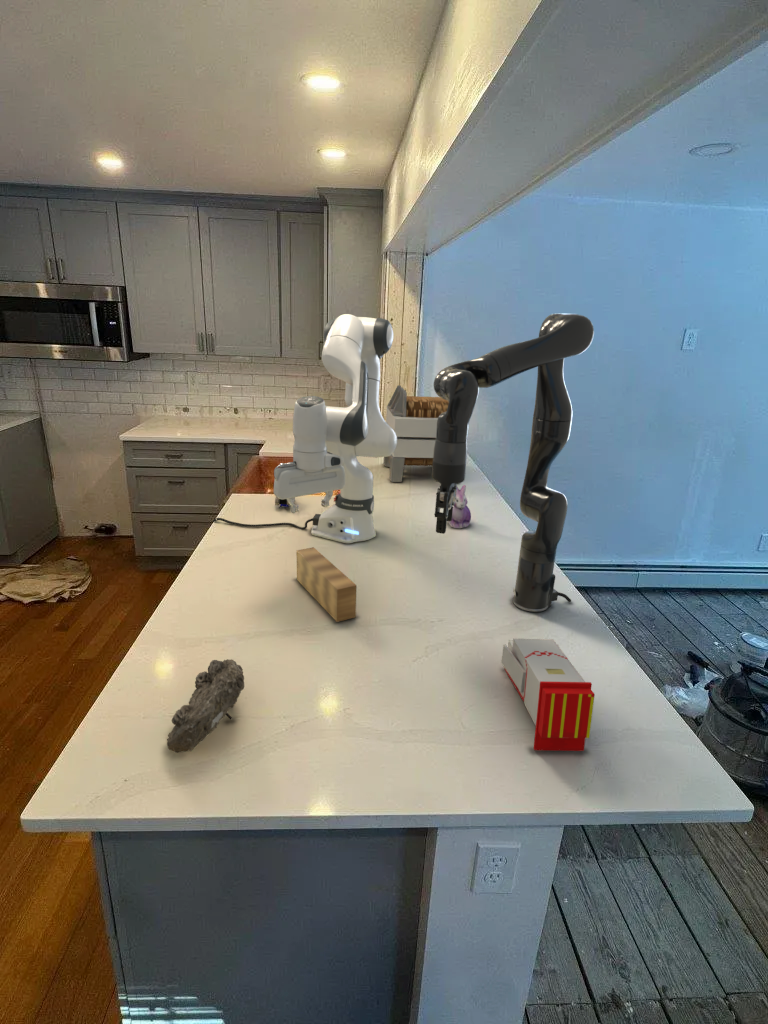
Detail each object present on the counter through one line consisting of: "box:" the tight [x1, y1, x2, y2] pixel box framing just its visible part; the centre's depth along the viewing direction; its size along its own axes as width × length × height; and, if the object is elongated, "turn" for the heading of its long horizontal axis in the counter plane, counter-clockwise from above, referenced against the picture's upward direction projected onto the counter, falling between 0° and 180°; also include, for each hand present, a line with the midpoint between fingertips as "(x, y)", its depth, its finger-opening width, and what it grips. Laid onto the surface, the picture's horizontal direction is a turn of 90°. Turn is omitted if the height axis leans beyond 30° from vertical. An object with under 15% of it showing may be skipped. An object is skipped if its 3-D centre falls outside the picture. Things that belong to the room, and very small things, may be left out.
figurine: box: [448, 484, 472, 529], centre depth 208 cm, size 9×10×15 cm
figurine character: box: [274, 496, 291, 510], centre depth 222 cm, size 7×8×15 cm
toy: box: [500, 637, 595, 752], centre depth 114 cm, size 12×13×30 cm
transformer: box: [383, 384, 449, 483], centre depth 268 cm, size 34×33×41 cm
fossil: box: [166, 658, 245, 754], centre depth 106 cm, size 22×10×15 cm
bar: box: [295, 546, 357, 623], centre depth 153 cm, size 26×5×9 cm, turn 31°
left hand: (310, 509), depth 154 cm, fingers open, 8 cm apart
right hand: (444, 526), depth 133 cm, fingers open, 8 cm apart
